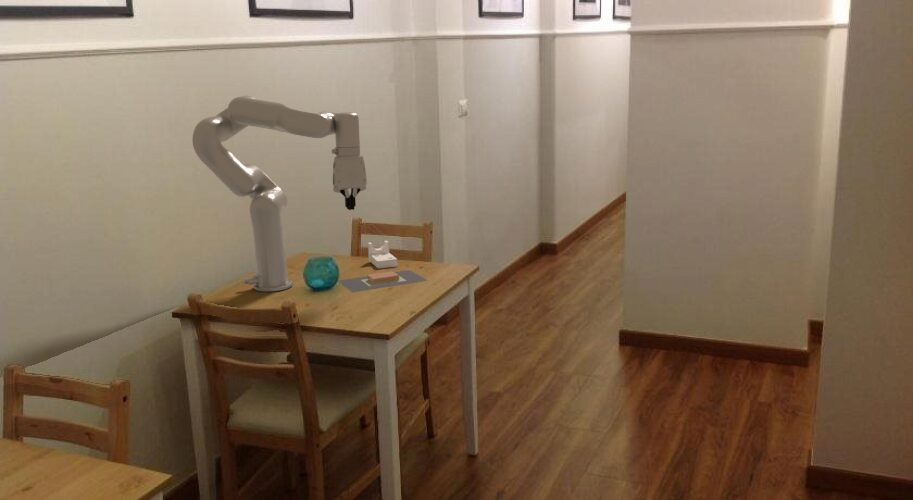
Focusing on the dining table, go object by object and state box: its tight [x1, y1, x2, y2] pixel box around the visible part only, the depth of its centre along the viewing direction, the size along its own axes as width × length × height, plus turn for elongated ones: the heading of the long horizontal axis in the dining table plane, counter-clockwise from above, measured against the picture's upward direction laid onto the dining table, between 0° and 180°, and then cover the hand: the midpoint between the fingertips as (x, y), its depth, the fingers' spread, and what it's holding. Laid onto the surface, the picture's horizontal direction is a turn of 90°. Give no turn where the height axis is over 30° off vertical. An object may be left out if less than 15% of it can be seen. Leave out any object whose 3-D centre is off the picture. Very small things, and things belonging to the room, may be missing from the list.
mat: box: [337, 269, 428, 293], centre depth 274 cm, size 26×16×1 cm, turn 115°
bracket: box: [367, 240, 398, 269], centre depth 296 cm, size 13×7×8 cm, turn 20°
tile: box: [366, 270, 399, 284], centre depth 274 cm, size 2×6×9 cm
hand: (350, 209), depth 266 cm, fingers closed
